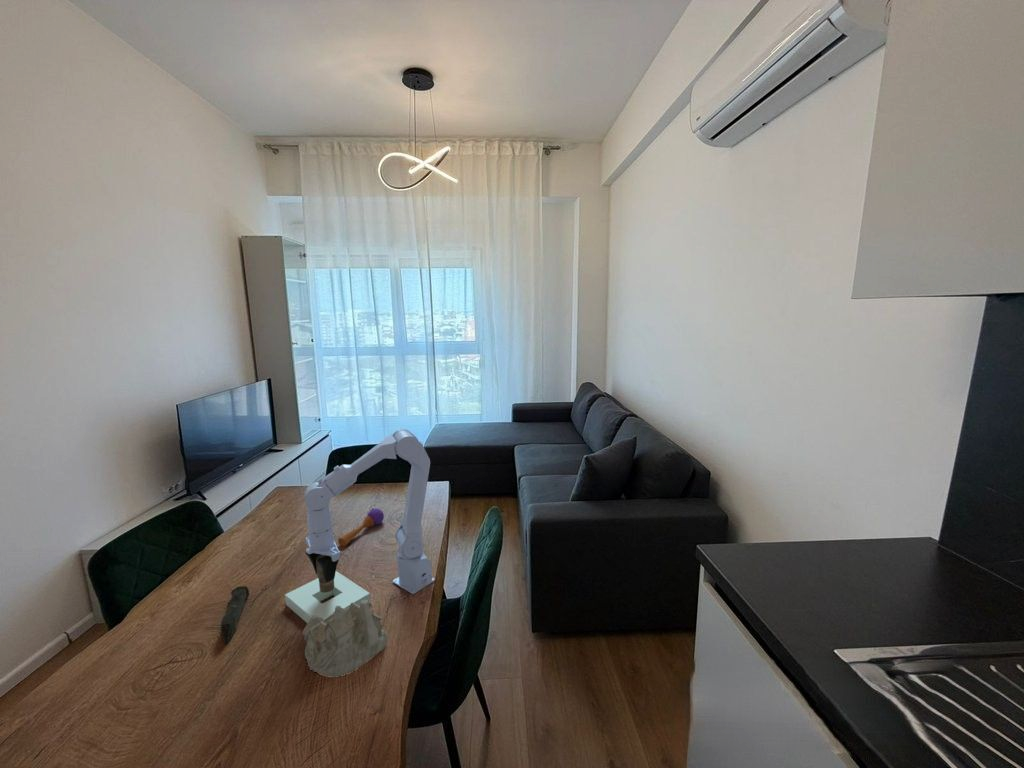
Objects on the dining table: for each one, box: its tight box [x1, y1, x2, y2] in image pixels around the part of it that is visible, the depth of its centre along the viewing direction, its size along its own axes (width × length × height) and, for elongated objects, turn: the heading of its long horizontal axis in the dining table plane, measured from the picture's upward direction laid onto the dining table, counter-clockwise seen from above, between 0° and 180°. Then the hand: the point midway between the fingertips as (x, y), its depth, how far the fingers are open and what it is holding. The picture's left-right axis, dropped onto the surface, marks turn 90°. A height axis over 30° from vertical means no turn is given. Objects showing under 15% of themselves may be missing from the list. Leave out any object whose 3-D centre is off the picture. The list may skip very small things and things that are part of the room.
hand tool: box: [220, 585, 250, 645], centre depth 108 cm, size 19×4×5 cm, turn 20°
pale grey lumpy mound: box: [302, 600, 388, 677], centre depth 97 cm, size 16×16×15 cm
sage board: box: [284, 570, 372, 624], centre depth 114 cm, size 18×14×3 cm
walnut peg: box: [316, 554, 334, 593], centre depth 113 cm, size 4×4×9 cm
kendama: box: [337, 508, 385, 548], centre depth 152 cm, size 6×6×20 cm
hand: (325, 576), depth 113 cm, fingers closed on walnut peg, 4 cm apart
